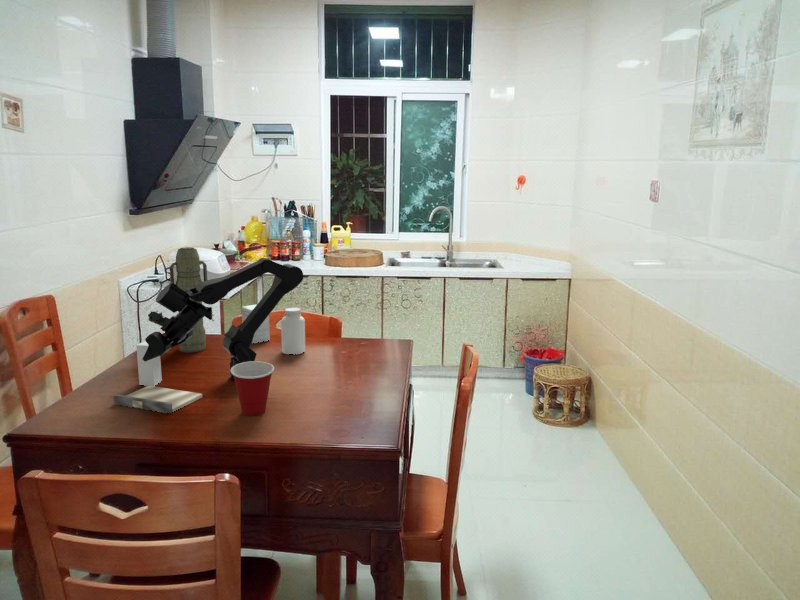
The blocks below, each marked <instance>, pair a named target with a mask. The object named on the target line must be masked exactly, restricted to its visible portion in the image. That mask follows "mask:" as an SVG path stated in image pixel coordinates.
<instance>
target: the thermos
mask: <svg viewBox="0 0 800 600" xmlns="http://www.w3.org/2000/svg"><path fill="white" fill-rule="evenodd" d="M200 265H202V271H203V272H202V273H203V280H202V279H201V274H200V272H201V267H200ZM174 267H175V268H176V274H177V275H176V281H175V277H174V276H175V275H174ZM207 268H208V267H207V264H206V263H205V262H204V261H203V260H200V255H199V252H198V249H197V248H195V247H189V246H188V247H187V246H186V247H180V248H178V249H177V251H176V255H175V262H173V263H171V264H170V266H169V279H170V280H169V281H170V282H173V283H174V284H176V285H177V286H178V287H179V288H181V289H182V290H184V291H186V290H189V289H192V288H195V287H197V285H198V284H199V283H201V282H204V281H207V280H208V269H207ZM170 282H169V283H170ZM189 299H190V300H192V301H194V300H193V299H191V298H189ZM194 302H196V301H194ZM200 303H201V304H203V302H200ZM206 335H207V333H206V329H205V327H204V317H203V318H202V319H201V320H200V321H199V322H198V324H197V325H196V326H195V328H194V329H193V335H192V336H191V337H190V338H189V339H188V340H186V341H185V342H183V343H181V344H179V351H180V352H182V353H198V352H203V351H204V349H205V350H206V349H207V346H206V342H207V340H206V338H207V337H206ZM202 350H203V351H202Z"/></svg>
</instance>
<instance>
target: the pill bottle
mask: <svg viewBox="0 0 800 600" xmlns="http://www.w3.org/2000/svg"><path fill="white" fill-rule="evenodd" d="M301 311H302V310H301V308H299V307H288V308H285V309H284V316H283V317H282V319H281V321H280V327H281V328H280V329H281V331H280V332H281V333H280V334H281V335H280V337H281V352H282V354H285V355H289V354H293V355H294V356H295V354H296V355H301V354H303V352H304V353H305V352H306V320H305V318H304V317H303V316H302V315H301V314H302V312H301Z"/></svg>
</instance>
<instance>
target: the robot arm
mask: <svg viewBox="0 0 800 600" xmlns="http://www.w3.org/2000/svg"><path fill="white" fill-rule="evenodd" d="M265 274H271V275H273V276H274V277H273V280H272V283H271V284H272V285H271V287H270V288H269V289H268V290H267V292H266V293H265V294H264V295H263V297H262V298H261V299H260V300H259V302H258V303H257V305H256V304H255V305H256V307H255V308H254V309H253V310H252V312H251V313H250V314H249V316H248V317H247V318H246V319H245V321H244V322H243V323H242V322H241V324H239V325H237V326H236V325H234V324H231V325H230V327H229V329H228V331H227V332H225V333H224V334H223V336H224V337H223V338H222V347H223V349H225V351H227V353H229V354H230V356H231V357H230V362H229V374H230V376H229V377H227V379H228V381H229V380H230V381H235V380H234V377H233V375H232V373H231V371H230V370H231V368H232V367H233V366H235V365H236V364H240V363H243V362H249V361H256V357H257V353H256V351H254V350H252V349H251V345H252V344H251V343H252V341H253V337H254V334H255V332H256V331H257V329H258V328H259V327H260V325H261V324H262V323H263V322H264V320H265V319H266V318H267V317H268V315H269V316H270V314H271V312H272V311H273V310H274V309H275V308H276V306H277V305H278V304H279V302H280V301H281V300H282V299H283V297H285V296H286V295H287V294H288V293H290V292H291V291H294V290H295V289H296V288H297V287H298V286H299V285H300V284H302V282H303V280H304V273H303V270H302V269H301V268H300V267H299V266H296V265H292V264H290V263H286V264H281V263H278V262H276V261H273V260H272V259H270V258H266V257H260V258H259V259H258V260H256V261H255V262H252V263H250V264H248V265H245V266H244V267H241V268H239V269H237V270H235V271H233V272H231V273H229V274H227V275H224V276H222V277H218V278H211V279H209V280H208V279H207V281H204V280H203V281H202V282H201V283H199V284H198V285H197V287H195V288H192V289H189V290H186V291H184V290H182V289H181V288H179V287H178V286H177V285H176V283H175V282H174V283H173V282H169V283H168V285H166V286H165V287H163V289H161V290H160V291H159V292H158V295H156V299H155V302H156V303H157V304H159V305H161V306H162V307H160V306H159V307H158V306H157V307H156V308H155V307H154V308H153V309H151V311H150V312H149V313H148V314H147V316H148V321H149V322H150V323H154V324H156V325H158V326H161V327H160V330H161V331H162V332H164V335H163V333H161V331H154V332H151V333H149V334H148V336H146V337H145V338H144V341H146V342H147V344H148V349H147V351H146V353H145V355H144V357H143V360H144V361H145V362H146V361H148V360H151V359H153V358H156V357H158V356H160V357H161V356H163V355H165V354H167V352H169V350H171V349H172V348H174V347H177V346H180V344H181V343H183V342H185V341H186V340H188V339H189V338H190V337H191V336H192V335H193V329H194V328H195V326H196V325H197V324H198V322H199V321H200V320H201V319H202V318H203V319H204V318H207V319H208V320H210V321H212V320H213V307H212V305H215V304H216V303H218V302H219V301H221V300H222V299H223V298H225V297H226V296H227V295H228V294H229V292H231V291H232V290H234V289H236V288H239V287H241V286H242V285H244V284H246V283H249V282H250V281H253V280H255V279H257V278H259V277H261V276H263V275H265ZM189 298H191V299H193V300H194V301H196V302H194V301H192V300H190V299H189ZM200 302H202V304H201V303H200ZM205 305H208V306H205ZM209 305H211V306H210V307H209ZM163 307H164V308H163ZM175 313H177V314H175Z"/></svg>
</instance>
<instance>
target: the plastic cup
mask: <svg viewBox="0 0 800 600" xmlns="http://www.w3.org/2000/svg"><path fill="white" fill-rule="evenodd" d="M230 371H231V373H232V375H233V377H234V380H233V381H234V383H235V387H236V392H237V397H238V400H239V403H240V410H241V411H242V414H243V415H245V416H248V415H249V417H254V416H255V415H256V416H260V415H263V414H264V413H265V412H266V409H267V405H268V404H267V403H268V398H269V390H270V383H271V378H272V374H273V373H274V371H275V366H274V365H273V364H272V363H269V362H266V361H260V360H257V361H256V360H255V361H249V362H243V363H240V364H236V365H235V366H233V367H232V368H231V370H230V369H229V372H230ZM256 416H255V417H256Z"/></svg>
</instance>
